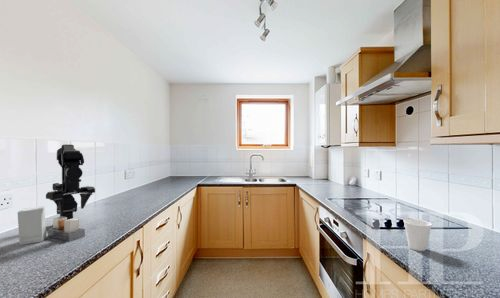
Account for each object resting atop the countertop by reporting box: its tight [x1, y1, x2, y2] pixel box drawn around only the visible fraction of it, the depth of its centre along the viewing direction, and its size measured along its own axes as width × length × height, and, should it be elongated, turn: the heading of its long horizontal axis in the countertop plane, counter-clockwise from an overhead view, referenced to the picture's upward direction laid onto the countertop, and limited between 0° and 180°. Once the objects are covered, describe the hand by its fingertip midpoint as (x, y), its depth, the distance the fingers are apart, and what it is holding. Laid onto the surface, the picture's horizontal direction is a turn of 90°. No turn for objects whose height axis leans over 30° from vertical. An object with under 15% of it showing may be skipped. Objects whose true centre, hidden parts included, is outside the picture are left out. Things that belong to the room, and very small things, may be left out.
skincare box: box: [17, 206, 47, 246], centre depth 111 cm, size 8×6×15 cm
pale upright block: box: [64, 217, 80, 233], centre depth 116 cm, size 4×4×7 cm
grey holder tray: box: [47, 216, 86, 242], centre depth 117 cm, size 16×7×8 cm, turn 66°
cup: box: [403, 218, 433, 252], centre depth 103 cm, size 10×10×11 cm
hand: (72, 210), depth 116 cm, fingers open, 9 cm apart
